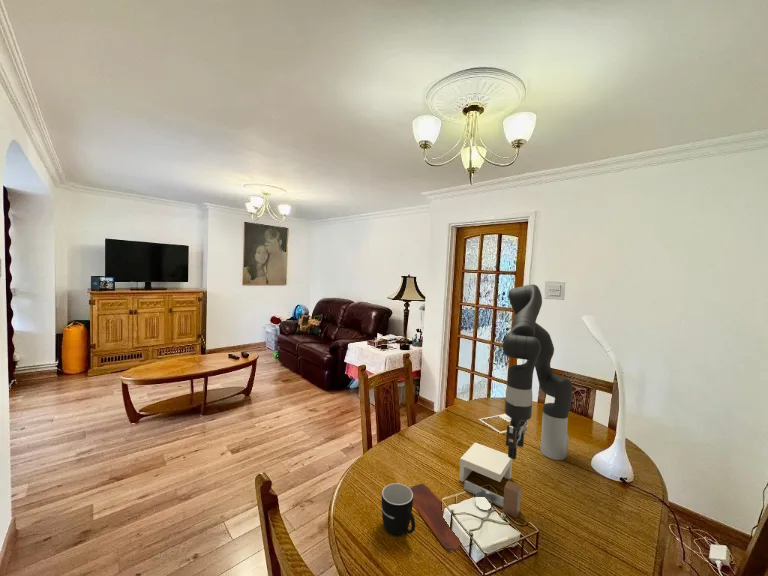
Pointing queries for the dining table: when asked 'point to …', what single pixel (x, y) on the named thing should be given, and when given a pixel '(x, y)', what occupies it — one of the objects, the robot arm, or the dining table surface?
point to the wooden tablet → (434, 516)
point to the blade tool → (507, 502)
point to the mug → (397, 509)
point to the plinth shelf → (485, 463)
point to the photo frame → (500, 417)
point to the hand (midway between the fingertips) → (515, 451)
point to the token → (484, 496)
